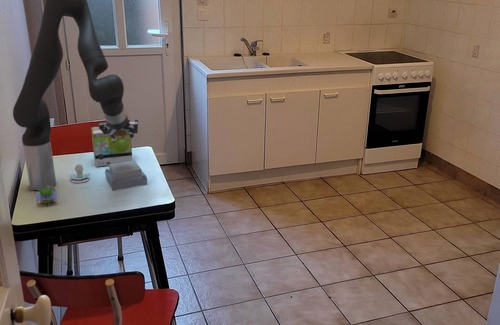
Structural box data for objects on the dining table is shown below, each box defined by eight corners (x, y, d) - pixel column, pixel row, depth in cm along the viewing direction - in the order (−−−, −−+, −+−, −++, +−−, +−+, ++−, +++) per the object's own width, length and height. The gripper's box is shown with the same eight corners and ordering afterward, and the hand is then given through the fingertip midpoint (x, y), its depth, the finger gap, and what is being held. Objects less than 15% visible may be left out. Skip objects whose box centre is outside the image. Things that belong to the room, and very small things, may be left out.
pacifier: (88, 183, 186) (90, 177, 192) (86, 168, 184) (89, 162, 189) (68, 184, 185) (71, 178, 191) (66, 169, 183) (69, 163, 188)
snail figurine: (133, 153, 182) (130, 122, 178) (115, 154, 180) (112, 123, 176) (131, 148, 187) (129, 118, 183) (114, 150, 185) (111, 119, 181)
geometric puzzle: (57, 203, 165) (55, 180, 167) (36, 206, 163) (33, 183, 165) (59, 207, 172) (56, 185, 174) (38, 210, 169) (36, 188, 171)
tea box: (96, 168, 200) (92, 133, 195) (94, 159, 209) (90, 126, 204) (133, 163, 205) (130, 130, 200) (129, 155, 214) (127, 123, 209)
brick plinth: (112, 190, 180) (111, 175, 178) (105, 177, 191) (104, 163, 189) (147, 184, 185) (146, 169, 183) (138, 172, 196) (137, 158, 194)
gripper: (136, 104, 170) (142, 127, 186) (94, 105, 169) (103, 128, 184) (136, 123, 167) (142, 144, 183) (93, 124, 166) (102, 146, 181)
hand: (122, 136), depth 183 cm, fingers closed on snail figurine, 5 cm apart
